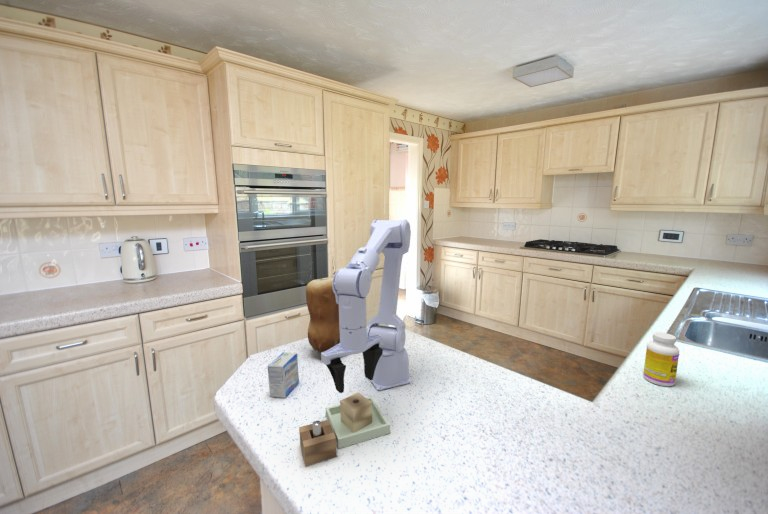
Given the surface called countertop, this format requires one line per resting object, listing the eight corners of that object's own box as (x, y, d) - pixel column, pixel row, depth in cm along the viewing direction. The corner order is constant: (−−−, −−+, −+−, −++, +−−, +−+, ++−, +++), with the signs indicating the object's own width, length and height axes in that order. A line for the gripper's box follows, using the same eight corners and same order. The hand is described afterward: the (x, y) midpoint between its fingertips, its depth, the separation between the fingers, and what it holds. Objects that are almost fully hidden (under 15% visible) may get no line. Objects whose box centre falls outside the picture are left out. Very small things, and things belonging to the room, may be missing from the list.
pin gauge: (321, 446, 66) (319, 419, 66) (322, 452, 65) (321, 424, 64) (313, 449, 66) (311, 421, 65) (314, 454, 64) (313, 426, 63)
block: (359, 412, 77) (358, 392, 76) (372, 422, 73) (371, 401, 72) (340, 421, 74) (340, 400, 73) (353, 432, 70) (353, 411, 69)
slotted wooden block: (329, 436, 69) (328, 419, 69) (336, 456, 64) (335, 438, 63) (300, 445, 67) (299, 427, 66) (305, 466, 62) (304, 447, 61)
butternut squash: (314, 343, 116) (310, 273, 112) (352, 343, 116) (350, 273, 111) (303, 362, 102) (299, 283, 98) (346, 362, 102) (344, 283, 98)
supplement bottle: (672, 390, 84) (678, 342, 82) (640, 380, 89) (645, 335, 87) (676, 381, 89) (683, 335, 87) (646, 371, 94) (651, 328, 92)
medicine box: (285, 399, 83) (283, 366, 82) (269, 397, 84) (266, 365, 83) (299, 382, 91) (297, 352, 89) (284, 380, 92) (282, 351, 90)
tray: (371, 404, 80) (371, 396, 80) (390, 433, 70) (390, 424, 70) (325, 416, 76) (325, 408, 76) (338, 448, 66) (338, 439, 66)
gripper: (369, 312, 77) (370, 366, 79) (312, 327, 68) (315, 388, 70) (388, 320, 72) (389, 378, 74) (330, 338, 63) (332, 403, 65)
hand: (354, 384), depth 72 cm, fingers open, 7 cm apart
